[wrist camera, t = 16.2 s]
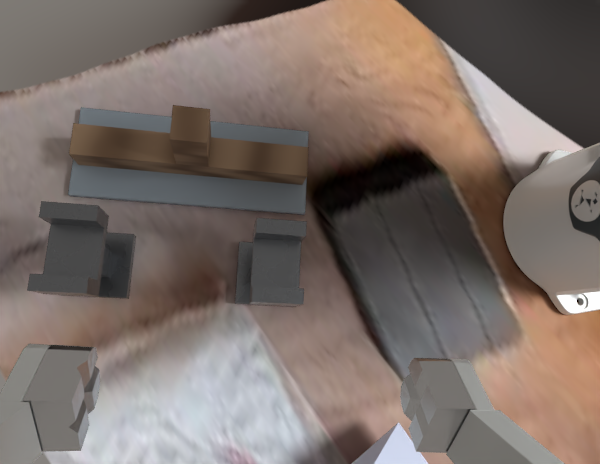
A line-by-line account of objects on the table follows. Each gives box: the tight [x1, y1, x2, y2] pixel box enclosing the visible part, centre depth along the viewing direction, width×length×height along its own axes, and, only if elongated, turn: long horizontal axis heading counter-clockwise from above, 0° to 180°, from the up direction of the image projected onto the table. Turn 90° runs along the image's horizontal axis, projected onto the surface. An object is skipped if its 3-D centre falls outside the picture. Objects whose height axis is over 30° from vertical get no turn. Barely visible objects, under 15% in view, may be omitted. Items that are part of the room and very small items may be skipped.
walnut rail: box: [69, 105, 308, 185], centre depth 43 cm, size 22×3×9 cm, turn 87°
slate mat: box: [68, 107, 308, 215], centre depth 48 cm, size 23×9×1 cm, turn 87°
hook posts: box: [27, 201, 307, 307], centre depth 41 cm, size 22×7×10 cm, turn 88°
